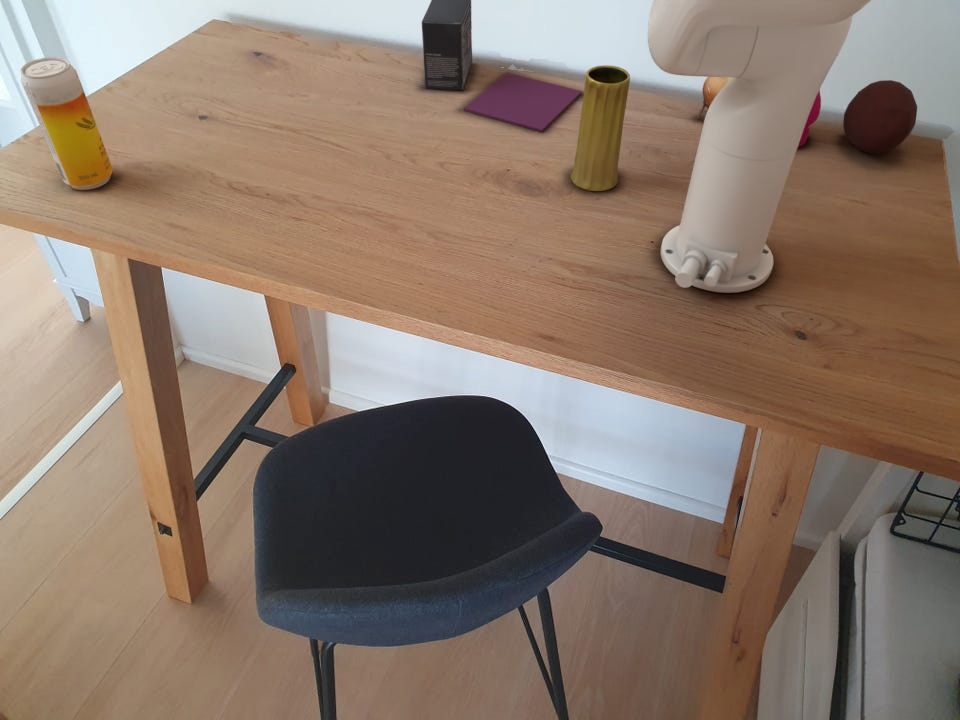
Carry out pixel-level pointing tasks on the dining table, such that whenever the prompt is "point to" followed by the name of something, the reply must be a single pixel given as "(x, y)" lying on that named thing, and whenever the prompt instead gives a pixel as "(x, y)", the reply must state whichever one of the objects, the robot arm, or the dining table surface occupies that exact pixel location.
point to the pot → (712, 90)
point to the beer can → (66, 122)
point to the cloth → (523, 101)
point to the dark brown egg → (880, 116)
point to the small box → (447, 44)
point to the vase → (601, 128)
